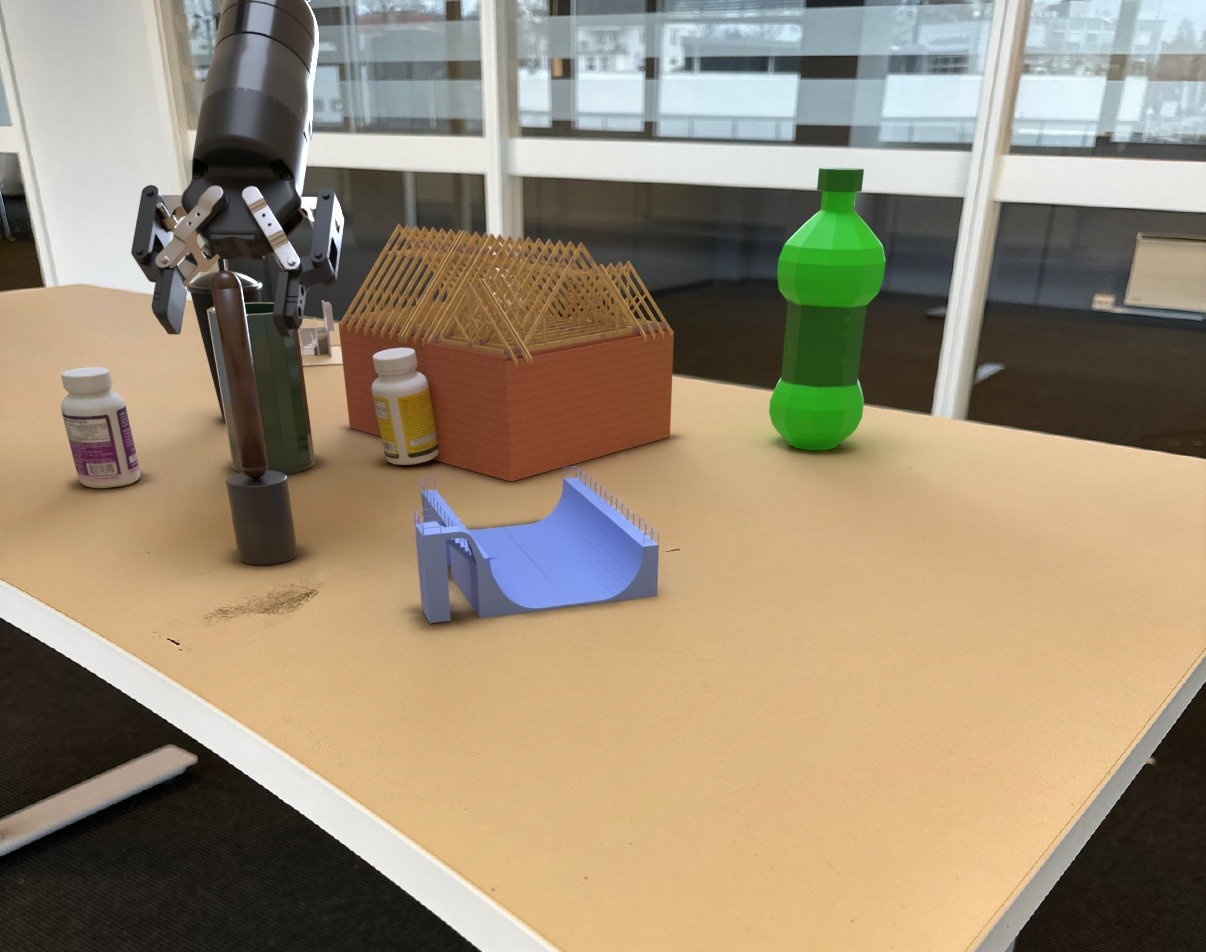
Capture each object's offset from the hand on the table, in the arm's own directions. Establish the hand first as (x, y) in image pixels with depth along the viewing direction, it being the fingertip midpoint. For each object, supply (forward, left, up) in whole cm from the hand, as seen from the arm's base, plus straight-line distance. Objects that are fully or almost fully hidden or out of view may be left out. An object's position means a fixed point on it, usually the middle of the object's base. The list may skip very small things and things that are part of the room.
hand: (225, 328), depth 76 cm
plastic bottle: (+28, +53, -17) cm, 63 cm away
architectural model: (-46, +65, -17) cm, 81 cm away
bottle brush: (-1, +1, -17) cm, 17 cm away
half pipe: (+18, +7, -17) cm, 26 cm away
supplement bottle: (-5, +30, -16) cm, 34 cm away
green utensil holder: (-17, +22, -17) cm, 32 cm away
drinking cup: (-32, +36, -17) cm, 51 cm away
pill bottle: (-27, +11, -17) cm, 33 cm away
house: (-2, +42, -17) cm, 46 cm away
